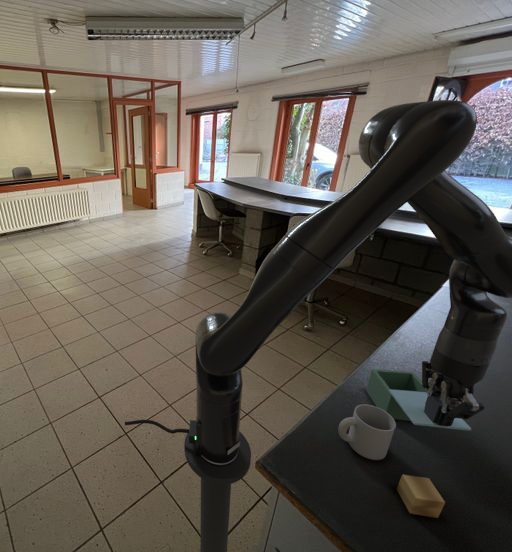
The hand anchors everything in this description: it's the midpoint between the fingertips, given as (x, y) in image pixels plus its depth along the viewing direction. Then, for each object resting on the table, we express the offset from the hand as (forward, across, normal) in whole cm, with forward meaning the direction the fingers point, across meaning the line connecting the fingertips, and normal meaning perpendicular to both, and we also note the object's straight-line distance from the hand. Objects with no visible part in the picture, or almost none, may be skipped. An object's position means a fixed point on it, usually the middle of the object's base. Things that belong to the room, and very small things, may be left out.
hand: (436, 417), depth 63 cm
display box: (+9, -12, 0) cm, 15 cm away
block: (+9, +14, -9) cm, 18 cm away
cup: (+9, +2, -14) cm, 17 cm away
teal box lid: (+1, -3, 0) cm, 3 cm away
